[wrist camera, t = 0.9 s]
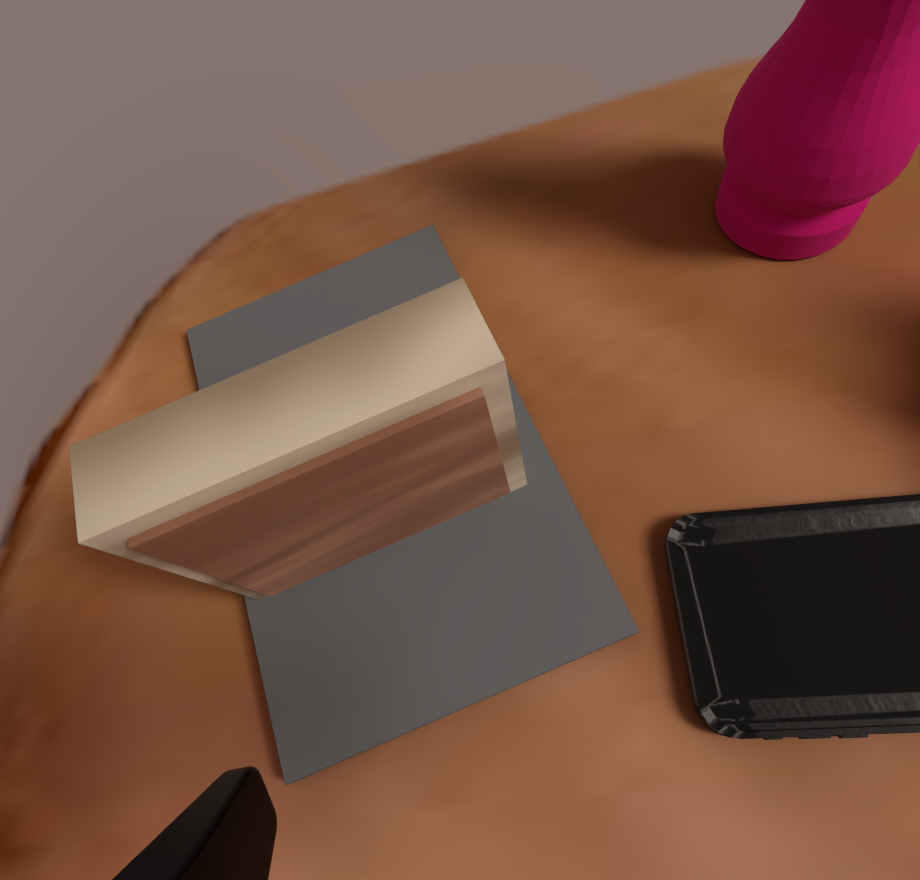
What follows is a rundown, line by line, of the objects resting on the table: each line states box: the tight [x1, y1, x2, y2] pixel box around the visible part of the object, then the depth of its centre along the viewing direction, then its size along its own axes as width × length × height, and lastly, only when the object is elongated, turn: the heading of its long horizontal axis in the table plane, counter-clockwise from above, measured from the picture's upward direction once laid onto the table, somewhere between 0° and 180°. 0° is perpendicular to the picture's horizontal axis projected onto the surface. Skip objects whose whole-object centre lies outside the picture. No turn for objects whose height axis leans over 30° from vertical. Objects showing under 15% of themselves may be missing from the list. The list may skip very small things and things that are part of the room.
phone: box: [665, 494, 920, 740], centre depth 21 cm, size 8×1×15 cm
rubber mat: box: [187, 225, 639, 785], centre depth 26 cm, size 22×14×1 cm, turn 21°
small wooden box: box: [69, 278, 527, 600], centre depth 20 cm, size 3×12×10 cm, turn 111°
